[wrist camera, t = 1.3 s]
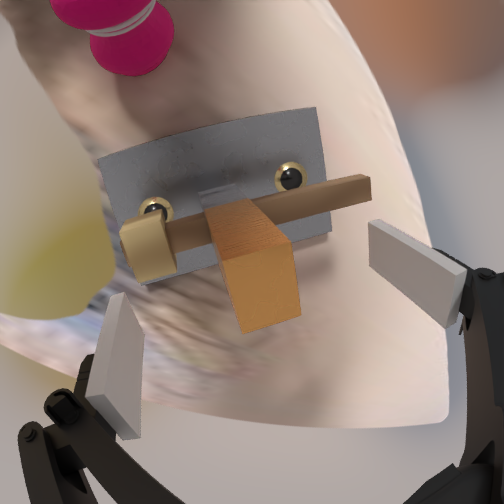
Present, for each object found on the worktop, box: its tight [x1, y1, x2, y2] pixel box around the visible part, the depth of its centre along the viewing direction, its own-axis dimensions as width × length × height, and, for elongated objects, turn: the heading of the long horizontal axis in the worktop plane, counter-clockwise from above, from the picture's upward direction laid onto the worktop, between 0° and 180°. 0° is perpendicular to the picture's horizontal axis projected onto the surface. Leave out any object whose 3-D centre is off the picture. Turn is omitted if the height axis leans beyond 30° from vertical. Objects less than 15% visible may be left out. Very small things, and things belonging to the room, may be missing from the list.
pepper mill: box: [50, 0, 174, 76], centre depth 14 cm, size 7×7×20 cm
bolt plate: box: [98, 107, 332, 286], centre depth 30 cm, size 14×22×2 cm, turn 102°
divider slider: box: [198, 183, 301, 334], centre depth 21 cm, size 4×3×17 cm
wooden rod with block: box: [119, 174, 372, 283], centre depth 26 cm, size 4×20×9 cm, turn 102°
